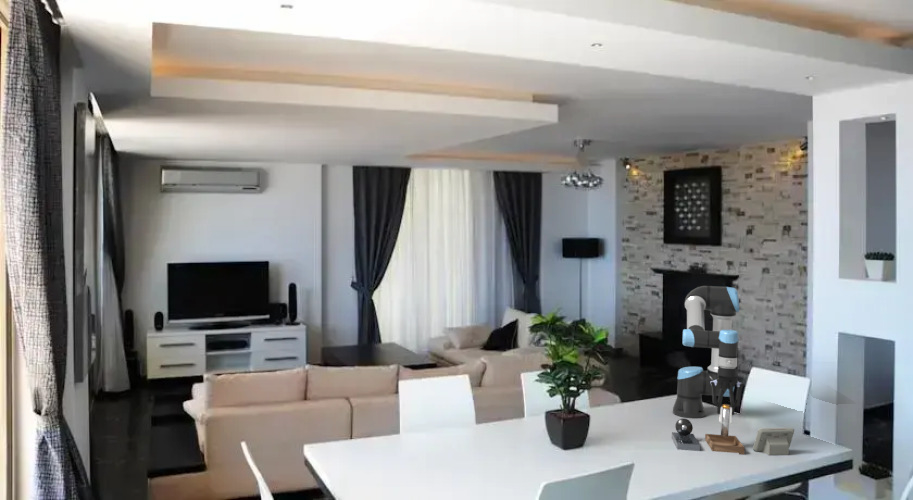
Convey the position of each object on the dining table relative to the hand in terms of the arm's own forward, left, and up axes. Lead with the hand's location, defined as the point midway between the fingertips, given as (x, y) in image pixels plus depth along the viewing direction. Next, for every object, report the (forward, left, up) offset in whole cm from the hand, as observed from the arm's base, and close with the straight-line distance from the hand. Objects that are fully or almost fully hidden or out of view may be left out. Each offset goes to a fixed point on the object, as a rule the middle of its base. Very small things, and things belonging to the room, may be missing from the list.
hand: (725, 421), depth 301 cm
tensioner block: (+1, -16, -11) cm, 19 cm away
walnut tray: (0, 0, -11) cm, 11 cm away
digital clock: (+1, +19, -11) cm, 22 cm away
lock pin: (0, 0, -6) cm, 6 cm away
